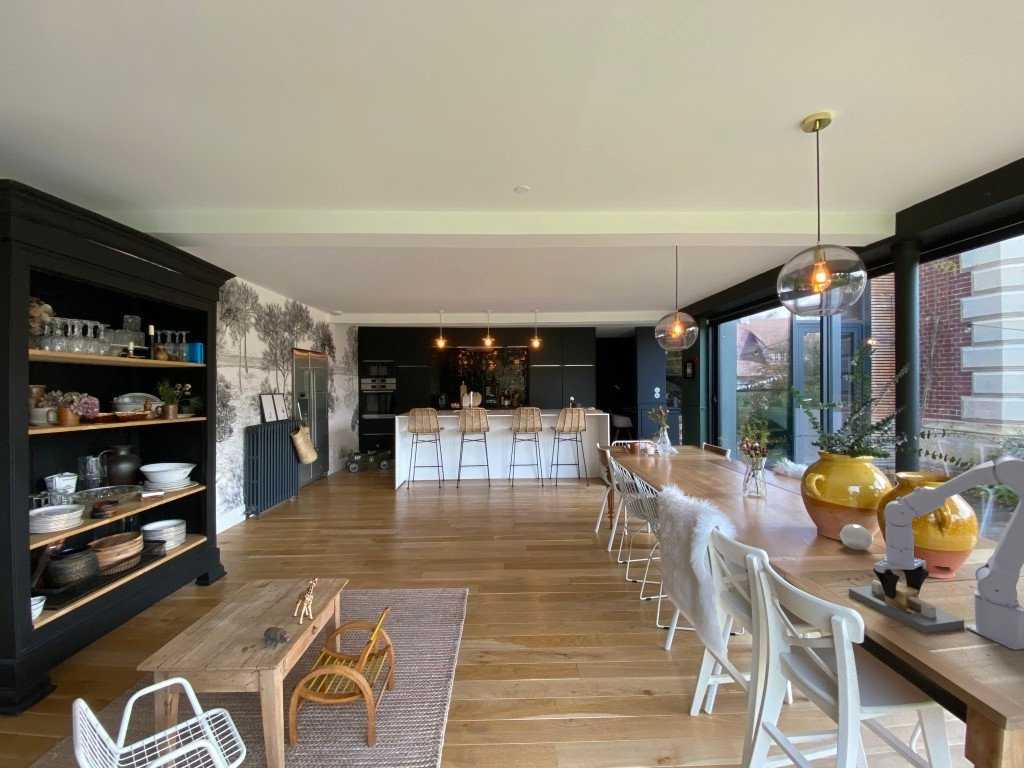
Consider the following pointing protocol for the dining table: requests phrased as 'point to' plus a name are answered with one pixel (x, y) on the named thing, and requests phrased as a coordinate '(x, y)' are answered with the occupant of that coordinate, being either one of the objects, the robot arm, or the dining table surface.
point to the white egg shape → (856, 537)
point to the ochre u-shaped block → (903, 597)
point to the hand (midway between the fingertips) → (901, 595)
